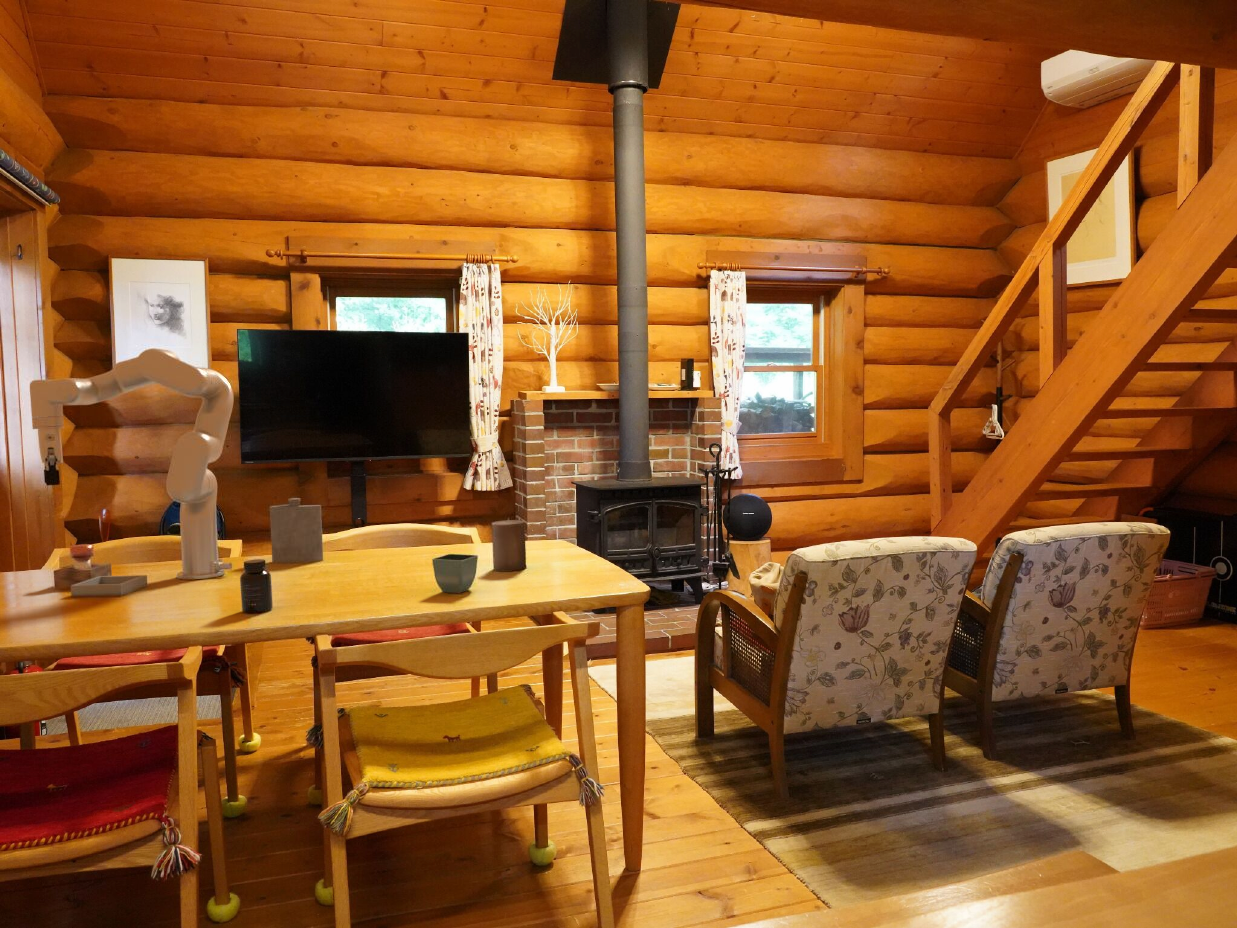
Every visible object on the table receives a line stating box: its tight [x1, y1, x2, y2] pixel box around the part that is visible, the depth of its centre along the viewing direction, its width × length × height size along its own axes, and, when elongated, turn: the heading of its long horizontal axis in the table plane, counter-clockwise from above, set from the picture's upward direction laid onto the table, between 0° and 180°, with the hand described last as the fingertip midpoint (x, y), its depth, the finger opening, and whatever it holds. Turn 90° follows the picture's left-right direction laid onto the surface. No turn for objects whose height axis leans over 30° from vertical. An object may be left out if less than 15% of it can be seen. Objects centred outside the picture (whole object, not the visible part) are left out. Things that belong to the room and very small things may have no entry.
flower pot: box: [431, 553, 479, 594], centre depth 230 cm, size 9×9×9 cm
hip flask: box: [269, 497, 324, 564], centre depth 281 cm, size 16×4×20 cm, turn 89°
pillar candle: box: [491, 517, 527, 572], centre depth 261 cm, size 10×10×15 cm
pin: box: [69, 543, 95, 569], centre depth 249 cm, size 6×6×11 cm
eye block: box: [53, 563, 113, 590], centre depth 249 cm, size 10×10×5 cm
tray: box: [70, 574, 148, 598], centre depth 239 cm, size 13×13×3 cm
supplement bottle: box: [239, 558, 273, 615], centre depth 212 cm, size 7×7×12 cm
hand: (52, 484), depth 254 cm, fingers open, 9 cm apart
